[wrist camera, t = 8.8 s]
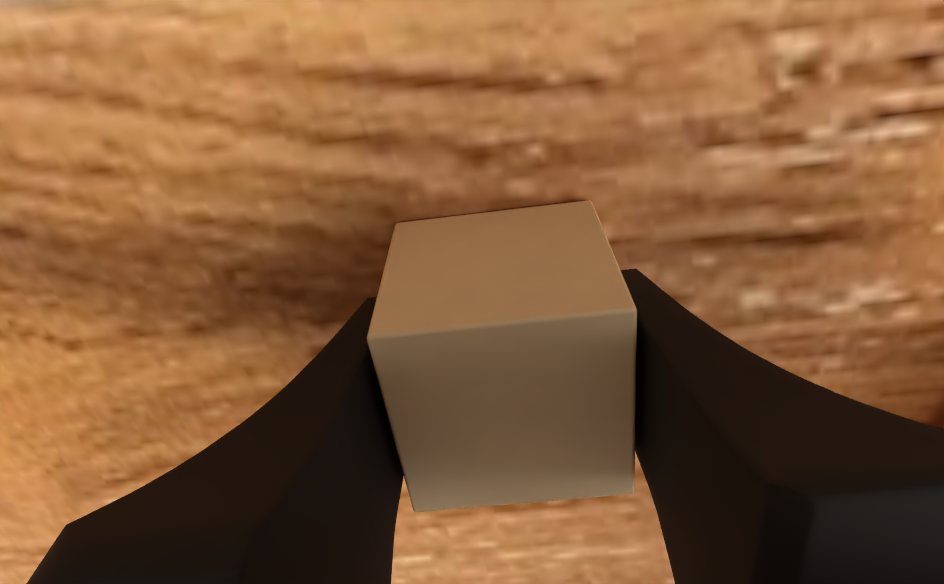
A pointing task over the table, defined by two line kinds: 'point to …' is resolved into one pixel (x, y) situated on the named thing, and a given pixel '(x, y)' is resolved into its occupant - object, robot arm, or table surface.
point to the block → (507, 358)
